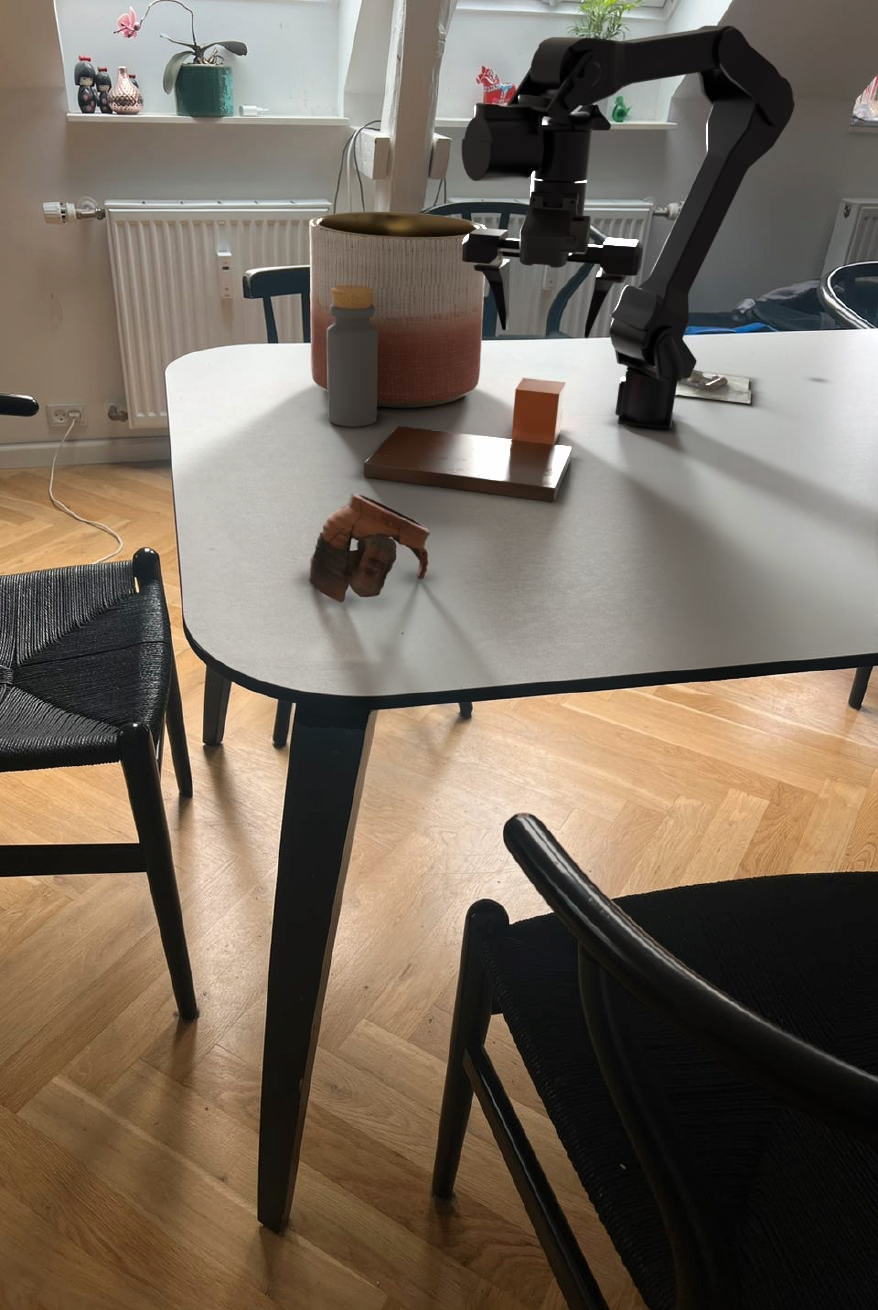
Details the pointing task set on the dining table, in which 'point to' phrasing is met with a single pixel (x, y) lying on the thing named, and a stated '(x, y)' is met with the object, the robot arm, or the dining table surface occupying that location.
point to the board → (470, 463)
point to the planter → (403, 300)
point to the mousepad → (715, 387)
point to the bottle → (352, 358)
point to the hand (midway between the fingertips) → (545, 333)
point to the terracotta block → (538, 411)
